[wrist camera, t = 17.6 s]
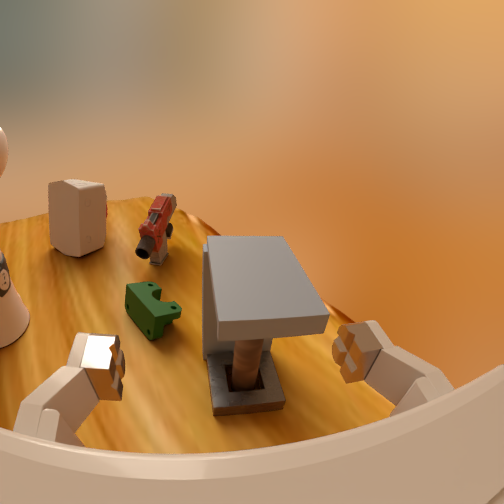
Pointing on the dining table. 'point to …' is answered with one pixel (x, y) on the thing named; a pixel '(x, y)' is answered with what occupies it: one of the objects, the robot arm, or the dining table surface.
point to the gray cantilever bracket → (255, 293)
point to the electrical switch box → (77, 216)
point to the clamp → (149, 308)
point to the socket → (245, 400)
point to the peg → (246, 364)
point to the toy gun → (157, 230)
